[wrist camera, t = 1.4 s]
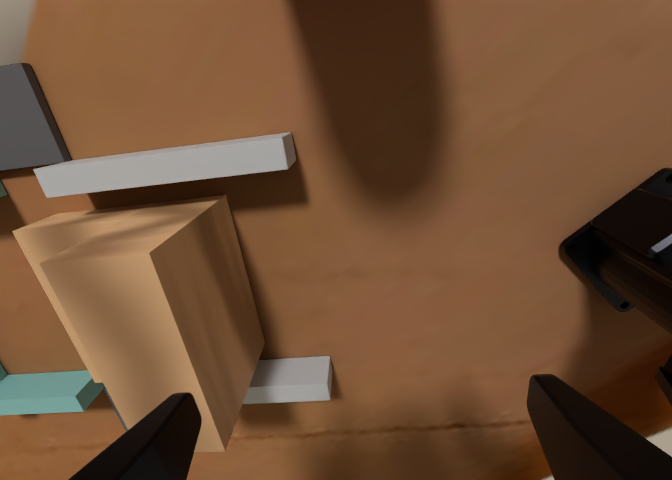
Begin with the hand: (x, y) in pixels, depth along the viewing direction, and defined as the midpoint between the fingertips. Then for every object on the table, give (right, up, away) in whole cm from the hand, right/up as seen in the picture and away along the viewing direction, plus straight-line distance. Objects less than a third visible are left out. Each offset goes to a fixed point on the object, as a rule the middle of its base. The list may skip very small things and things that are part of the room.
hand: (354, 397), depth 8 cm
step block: (-12, +1, +15) cm, 19 cm away
